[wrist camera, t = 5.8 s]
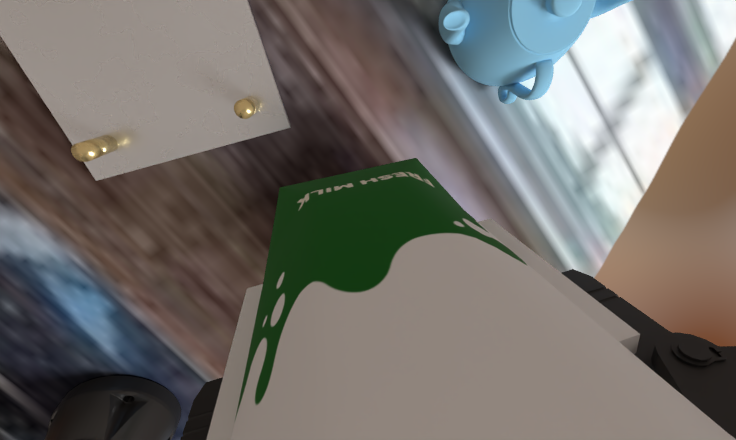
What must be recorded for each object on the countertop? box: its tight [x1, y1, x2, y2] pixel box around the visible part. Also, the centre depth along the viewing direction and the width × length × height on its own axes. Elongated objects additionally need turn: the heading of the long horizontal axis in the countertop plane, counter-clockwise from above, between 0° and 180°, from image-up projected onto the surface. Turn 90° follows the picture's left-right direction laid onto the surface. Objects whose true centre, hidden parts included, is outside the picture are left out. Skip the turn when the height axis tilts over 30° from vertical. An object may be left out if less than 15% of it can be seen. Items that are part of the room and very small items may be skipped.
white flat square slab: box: [0, 0, 291, 181], centre depth 27 cm, size 20×20×5 cm
